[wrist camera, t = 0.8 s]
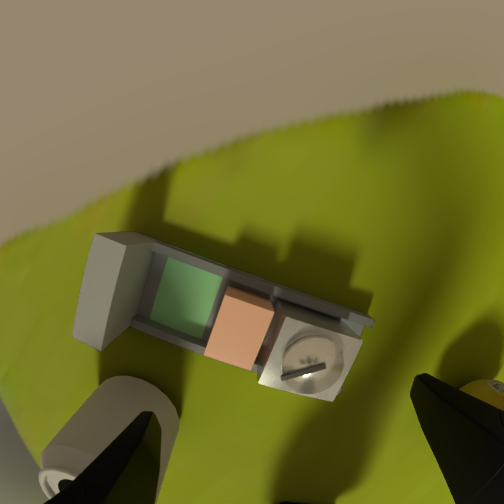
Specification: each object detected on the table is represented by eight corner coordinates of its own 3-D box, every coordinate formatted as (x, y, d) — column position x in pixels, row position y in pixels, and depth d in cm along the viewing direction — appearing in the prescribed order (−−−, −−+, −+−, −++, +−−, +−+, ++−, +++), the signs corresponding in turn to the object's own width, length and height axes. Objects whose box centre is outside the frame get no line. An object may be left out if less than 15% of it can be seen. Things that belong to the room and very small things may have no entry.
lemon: (499, 374, 23) (544, 402, 15) (464, 433, 23) (500, 469, 15) (444, 356, 22) (499, 392, 14) (402, 426, 22) (441, 476, 14)
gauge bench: (367, 314, 21) (406, 343, 15) (334, 384, 22) (359, 429, 16) (135, 231, 21) (94, 233, 14) (113, 309, 21) (72, 336, 15)
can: (119, 353, 21) (37, 439, 9) (198, 406, 22) (170, 521, 10) (87, 407, 22) (21, 488, 10) (156, 453, 22) (121, 551, 10)
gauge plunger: (341, 319, 21) (368, 345, 16) (318, 372, 21) (336, 408, 16) (277, 298, 21) (288, 320, 16) (255, 354, 21) (258, 389, 16)
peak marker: (269, 298, 21) (274, 312, 17) (249, 349, 21) (250, 370, 18) (228, 283, 21) (225, 294, 17) (209, 335, 21) (203, 354, 17)
